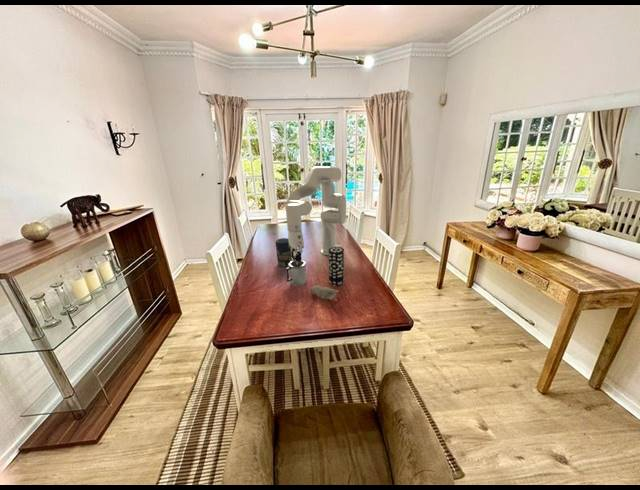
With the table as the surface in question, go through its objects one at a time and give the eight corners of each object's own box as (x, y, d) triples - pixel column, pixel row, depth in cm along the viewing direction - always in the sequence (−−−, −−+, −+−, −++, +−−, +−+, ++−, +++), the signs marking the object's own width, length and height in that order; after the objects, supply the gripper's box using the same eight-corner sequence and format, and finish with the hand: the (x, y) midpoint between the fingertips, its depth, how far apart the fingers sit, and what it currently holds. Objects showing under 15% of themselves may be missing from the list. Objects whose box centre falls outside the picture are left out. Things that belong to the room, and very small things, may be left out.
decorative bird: (315, 291, 134) (314, 279, 131) (341, 301, 125) (341, 288, 122) (309, 296, 129) (308, 284, 127) (335, 306, 121) (335, 293, 118)
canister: (289, 267, 160) (287, 241, 153) (275, 267, 162) (272, 241, 155) (294, 261, 169) (292, 236, 162) (280, 260, 170) (278, 235, 164)
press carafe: (301, 276, 149) (300, 258, 144) (309, 283, 141) (308, 264, 137) (284, 282, 143) (282, 263, 139) (290, 289, 136) (289, 269, 132)
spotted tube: (345, 279, 144) (345, 247, 137) (341, 287, 137) (341, 253, 129) (331, 277, 147) (331, 246, 139) (327, 284, 139) (326, 252, 132)
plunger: (300, 273, 145) (298, 249, 139) (304, 277, 141) (303, 252, 135) (291, 276, 143) (289, 251, 137) (295, 280, 138) (293, 254, 132)
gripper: (308, 230, 125) (310, 263, 132) (294, 222, 139) (296, 252, 146) (295, 232, 122) (297, 266, 129) (281, 224, 135) (284, 255, 142)
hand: (296, 258), depth 137 cm, fingers open, 4 cm apart
